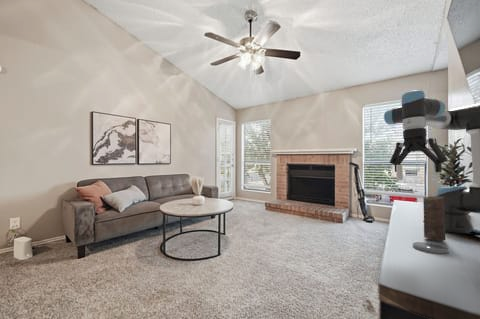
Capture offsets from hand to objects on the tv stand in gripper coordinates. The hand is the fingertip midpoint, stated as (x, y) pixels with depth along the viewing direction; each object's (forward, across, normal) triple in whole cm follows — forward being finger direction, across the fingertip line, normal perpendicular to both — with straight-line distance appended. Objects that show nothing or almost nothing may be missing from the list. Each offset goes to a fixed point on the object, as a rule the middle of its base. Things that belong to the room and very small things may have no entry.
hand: (416, 180), depth 90 cm
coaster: (+28, +1, +5) cm, 28 cm away
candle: (+28, -6, +19) cm, 34 cm away
